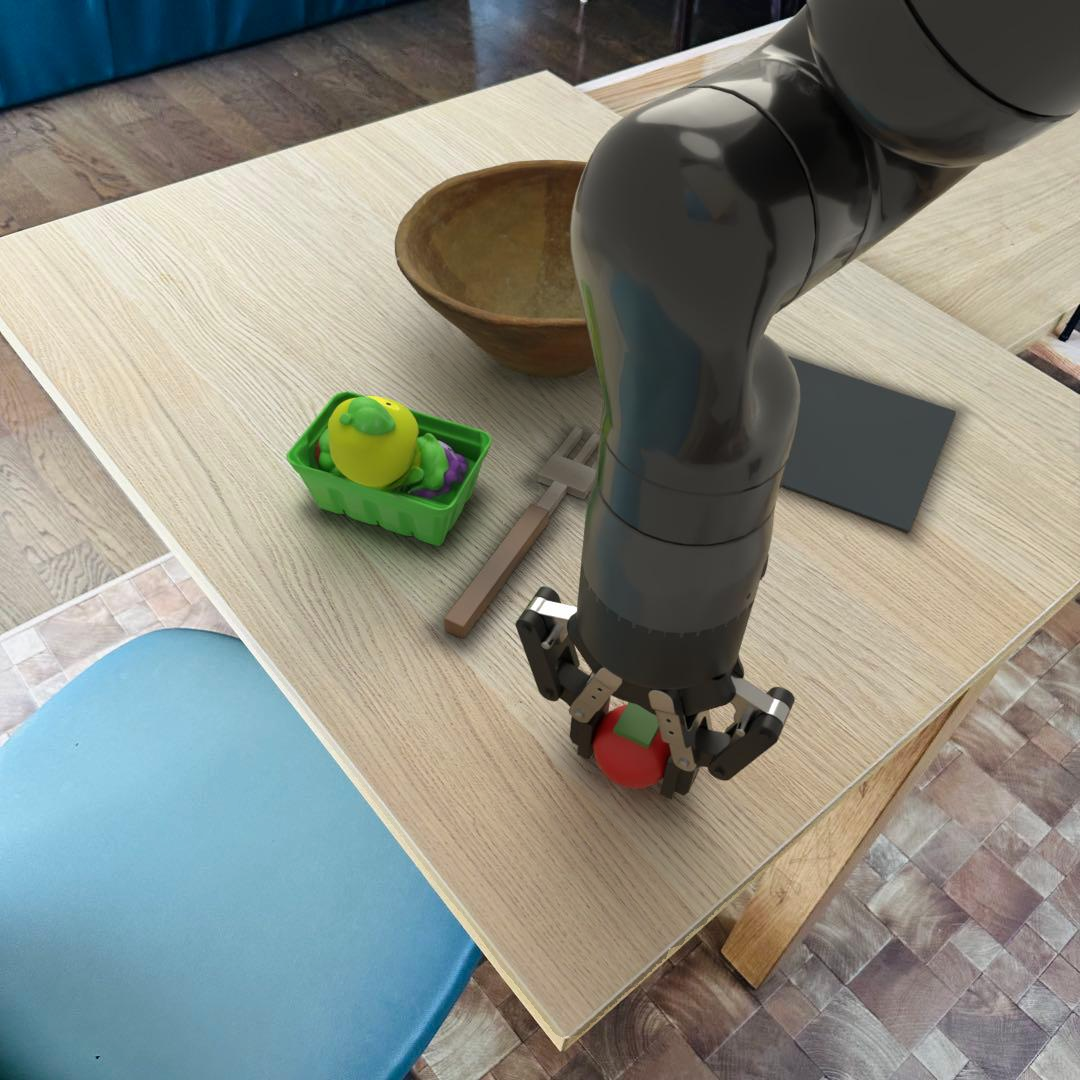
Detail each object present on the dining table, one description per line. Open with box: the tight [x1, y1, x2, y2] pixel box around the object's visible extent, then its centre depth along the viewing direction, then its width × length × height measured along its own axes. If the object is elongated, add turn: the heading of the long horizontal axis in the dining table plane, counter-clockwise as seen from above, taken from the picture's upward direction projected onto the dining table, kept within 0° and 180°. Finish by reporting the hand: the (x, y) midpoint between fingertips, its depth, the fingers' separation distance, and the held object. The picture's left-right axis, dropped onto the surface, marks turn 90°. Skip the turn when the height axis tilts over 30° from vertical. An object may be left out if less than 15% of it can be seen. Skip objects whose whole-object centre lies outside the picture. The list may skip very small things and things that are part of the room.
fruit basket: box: [285, 391, 493, 547], centre depth 64 cm, size 11×9×11 cm
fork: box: [443, 426, 600, 640], centre depth 67 cm, size 20×4×1 cm, turn 152°
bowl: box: [394, 159, 596, 379], centre depth 77 cm, size 22×23×10 cm
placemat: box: [781, 355, 957, 534], centre depth 75 cm, size 16×14×1 cm
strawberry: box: [593, 702, 671, 790], centre depth 54 cm, size 4×4×4 cm
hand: (632, 763), depth 56 cm, fingers closed on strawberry, 4 cm apart
